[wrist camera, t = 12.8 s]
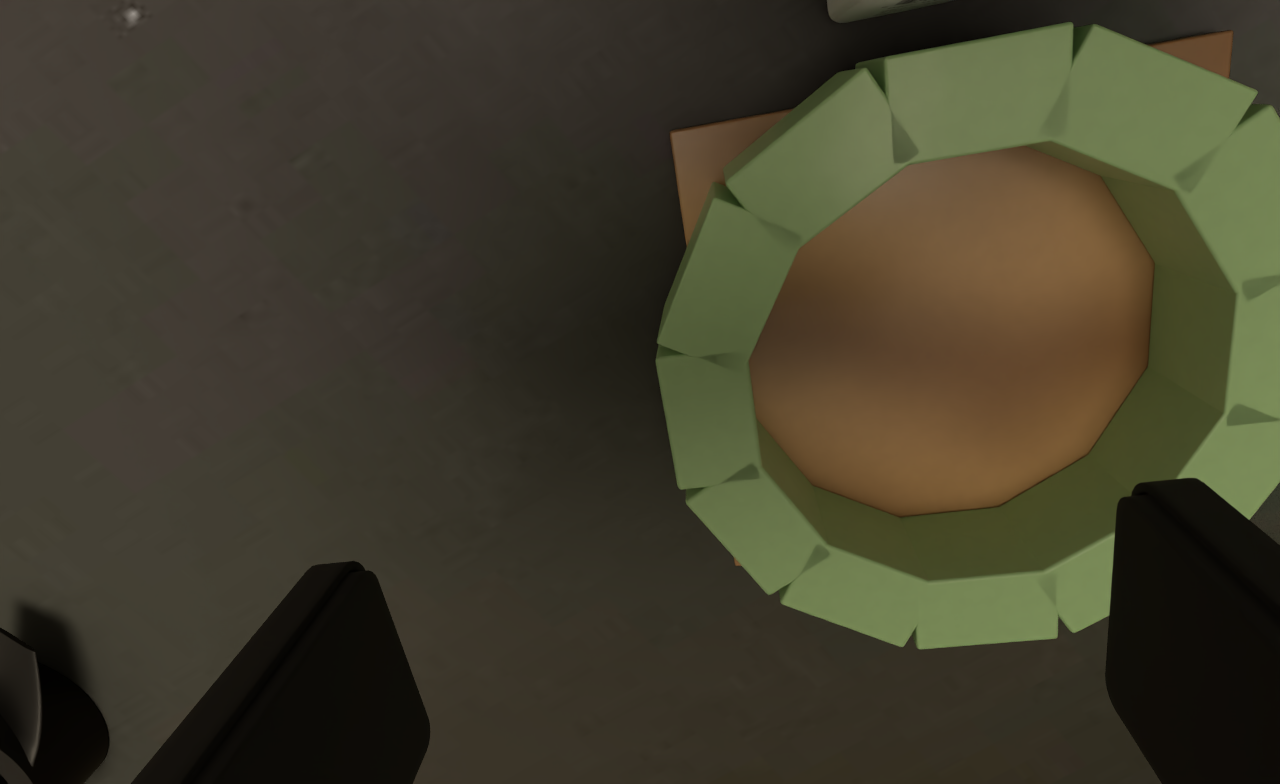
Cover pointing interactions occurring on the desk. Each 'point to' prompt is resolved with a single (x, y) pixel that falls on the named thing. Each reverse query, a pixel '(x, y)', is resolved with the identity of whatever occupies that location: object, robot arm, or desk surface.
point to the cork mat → (949, 321)
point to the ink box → (872, 8)
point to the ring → (1142, 427)
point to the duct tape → (44, 722)
